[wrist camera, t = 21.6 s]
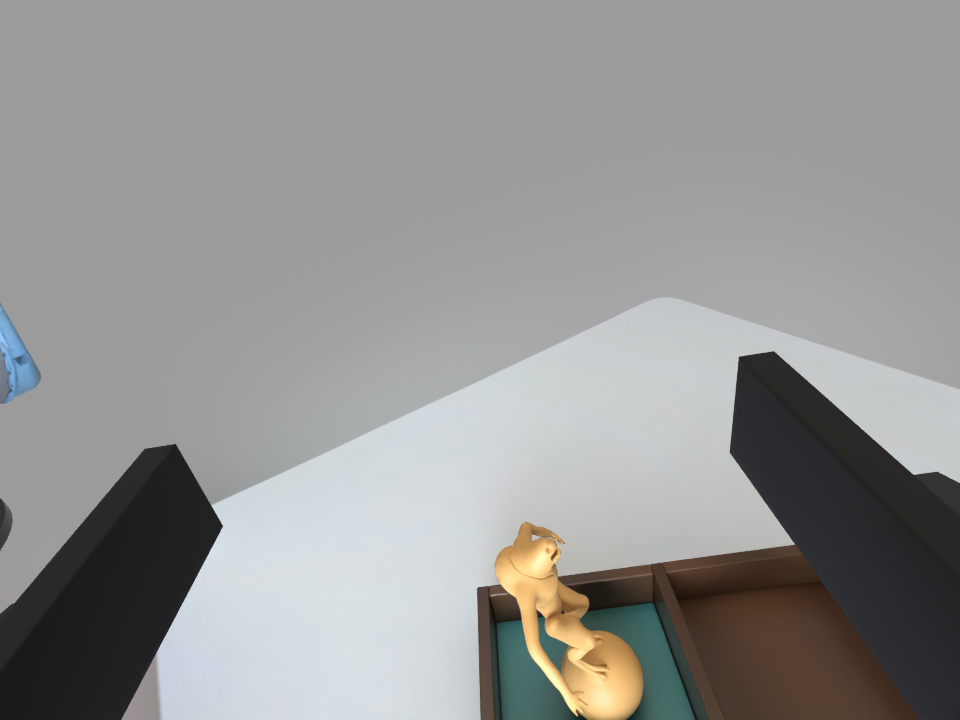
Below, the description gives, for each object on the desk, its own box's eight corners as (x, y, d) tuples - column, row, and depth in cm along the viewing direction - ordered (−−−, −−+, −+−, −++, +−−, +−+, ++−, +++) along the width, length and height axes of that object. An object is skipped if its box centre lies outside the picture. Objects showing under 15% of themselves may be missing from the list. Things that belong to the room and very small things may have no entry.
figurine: (666, 795, 23) (670, 632, 17) (530, 800, 23) (488, 645, 17) (625, 619, 30) (618, 461, 24) (522, 626, 30) (490, 475, 25)
